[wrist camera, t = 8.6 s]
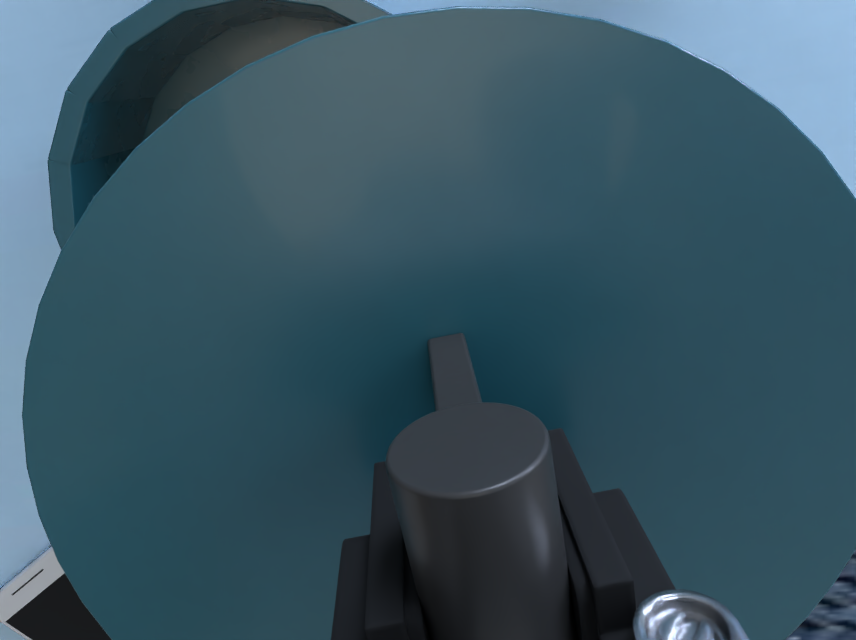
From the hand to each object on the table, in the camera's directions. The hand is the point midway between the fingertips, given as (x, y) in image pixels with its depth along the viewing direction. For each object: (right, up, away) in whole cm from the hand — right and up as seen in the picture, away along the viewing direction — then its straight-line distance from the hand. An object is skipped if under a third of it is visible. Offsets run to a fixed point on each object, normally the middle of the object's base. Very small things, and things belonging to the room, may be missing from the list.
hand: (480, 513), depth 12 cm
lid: (0, +1, +1) cm, 2 cm away
